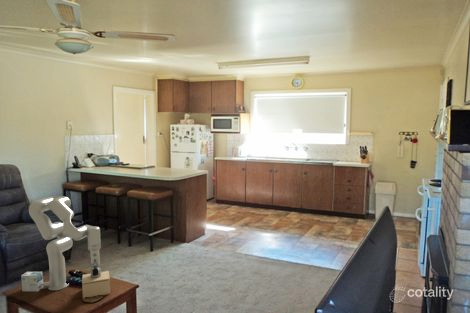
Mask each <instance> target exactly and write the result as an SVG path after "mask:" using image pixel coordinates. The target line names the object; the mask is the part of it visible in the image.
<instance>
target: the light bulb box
mask: <svg viewBox="0 0 470 313" xmlns="http://www.w3.org/2000/svg"><path fill="white" fill-rule="evenodd" d="M20 277H21V290H22V292H39V291H41V290H42V289H43V288H44V287H45V286H44V285H43V282H44V276H43V271H26V272H24V273H23V274H21V276H20Z"/></svg>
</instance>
